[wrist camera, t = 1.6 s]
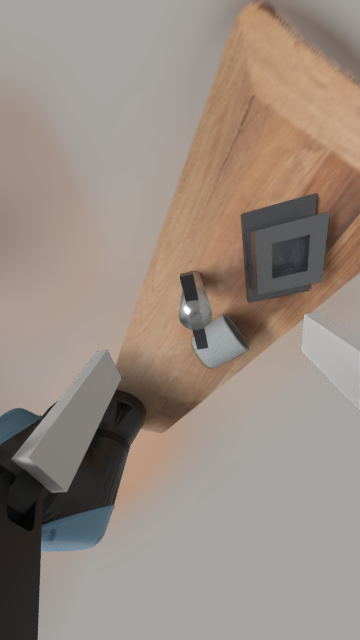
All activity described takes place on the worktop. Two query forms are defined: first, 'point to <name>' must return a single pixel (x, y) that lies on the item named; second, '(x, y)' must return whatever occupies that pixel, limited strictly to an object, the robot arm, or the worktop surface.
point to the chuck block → (283, 248)
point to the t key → (195, 307)
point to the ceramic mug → (220, 343)
